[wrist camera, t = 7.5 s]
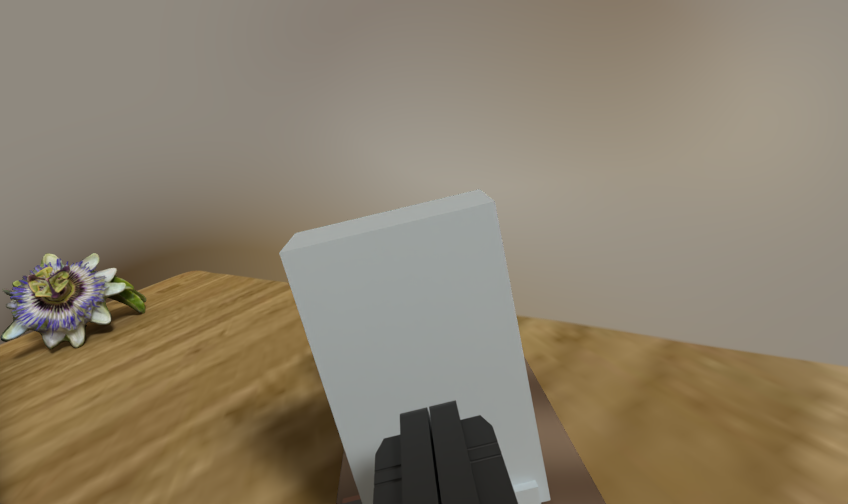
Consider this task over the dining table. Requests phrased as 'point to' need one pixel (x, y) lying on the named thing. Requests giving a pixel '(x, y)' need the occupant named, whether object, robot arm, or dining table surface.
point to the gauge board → (565, 471)
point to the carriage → (417, 329)
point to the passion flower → (66, 300)
